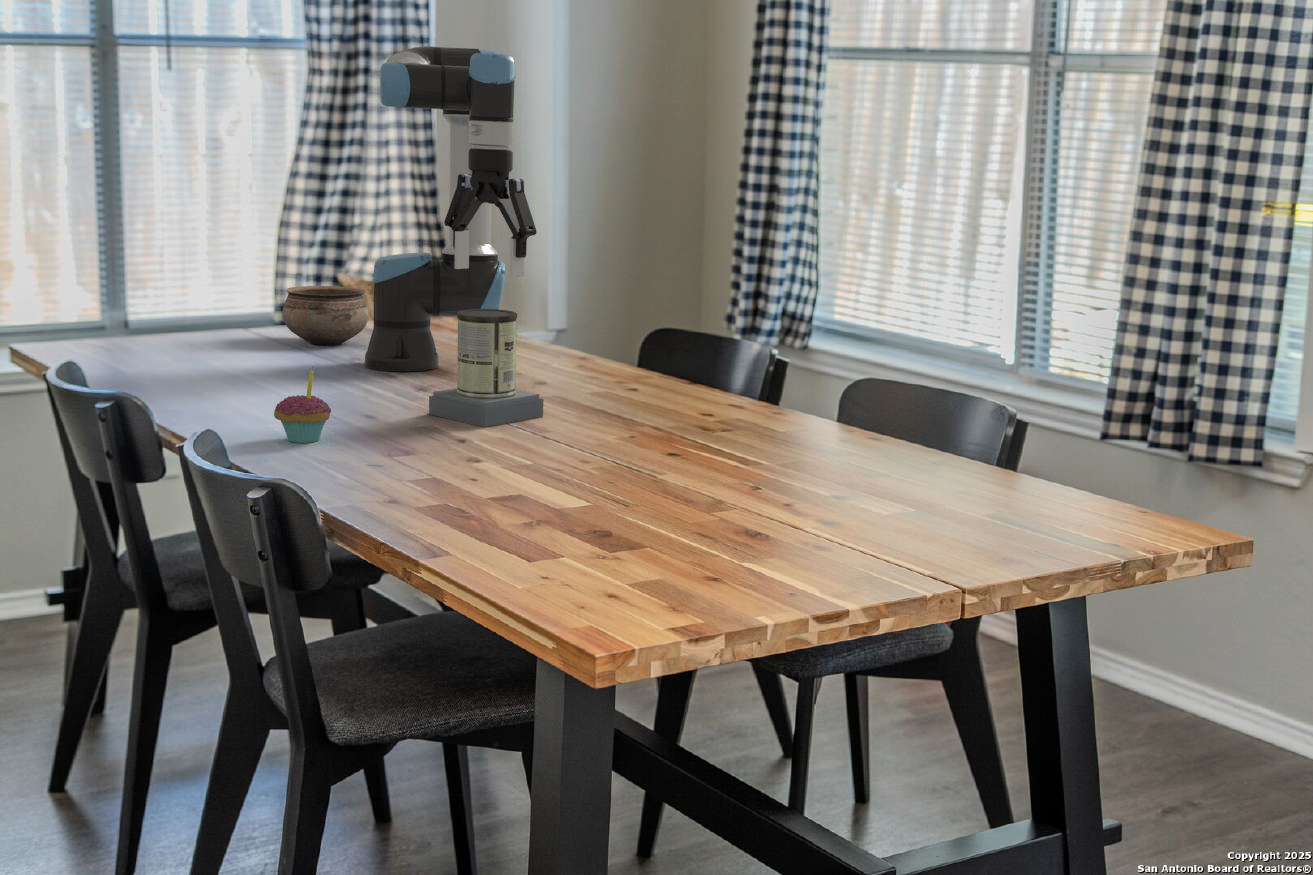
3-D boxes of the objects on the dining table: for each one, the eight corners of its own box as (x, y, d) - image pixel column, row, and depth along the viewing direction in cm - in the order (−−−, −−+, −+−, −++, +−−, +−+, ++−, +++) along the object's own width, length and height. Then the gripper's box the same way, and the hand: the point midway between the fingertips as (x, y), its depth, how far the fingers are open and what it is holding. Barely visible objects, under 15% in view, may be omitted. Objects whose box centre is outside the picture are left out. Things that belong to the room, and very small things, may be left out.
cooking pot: (388, 350, 305) (388, 295, 303) (306, 354, 294) (306, 298, 292) (343, 334, 325) (343, 283, 322) (265, 338, 314) (264, 285, 312)
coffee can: (463, 385, 244) (465, 307, 241) (520, 389, 243) (522, 310, 240) (449, 396, 234) (450, 314, 231) (508, 400, 233) (510, 317, 230)
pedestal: (428, 414, 238) (429, 391, 237) (487, 404, 249) (487, 382, 248) (485, 427, 229) (485, 403, 228) (542, 416, 240) (543, 394, 239)
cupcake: (341, 438, 217) (340, 363, 214) (311, 448, 209) (310, 371, 206) (294, 432, 219) (293, 358, 217) (263, 442, 212) (261, 365, 209)
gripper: (424, 144, 237) (424, 266, 242) (527, 151, 222) (524, 281, 227) (457, 144, 243) (455, 264, 247) (559, 151, 227) (555, 279, 232)
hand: (488, 272), depth 237 cm, fingers open, 13 cm apart
